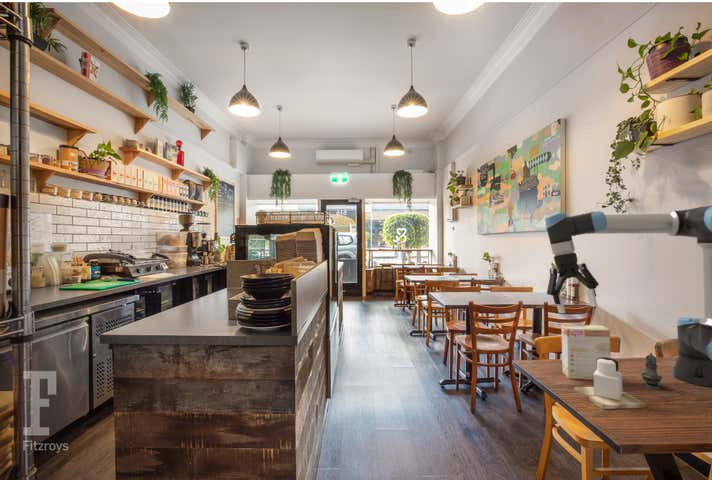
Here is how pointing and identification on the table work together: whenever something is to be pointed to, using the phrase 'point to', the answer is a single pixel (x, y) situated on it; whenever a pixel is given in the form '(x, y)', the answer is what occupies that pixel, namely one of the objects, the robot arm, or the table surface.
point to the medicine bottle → (607, 379)
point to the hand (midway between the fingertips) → (578, 309)
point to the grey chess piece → (651, 373)
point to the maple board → (608, 403)
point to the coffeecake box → (583, 349)
